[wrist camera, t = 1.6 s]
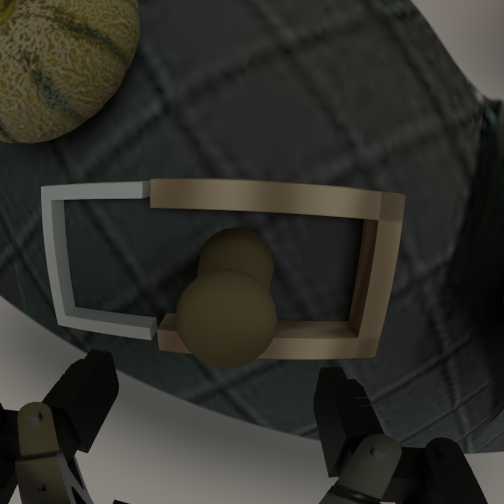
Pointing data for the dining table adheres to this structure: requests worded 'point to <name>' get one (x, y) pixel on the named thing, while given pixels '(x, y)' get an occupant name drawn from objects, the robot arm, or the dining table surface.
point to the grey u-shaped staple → (60, 265)
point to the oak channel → (314, 203)
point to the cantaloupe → (61, 63)
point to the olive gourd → (229, 300)
